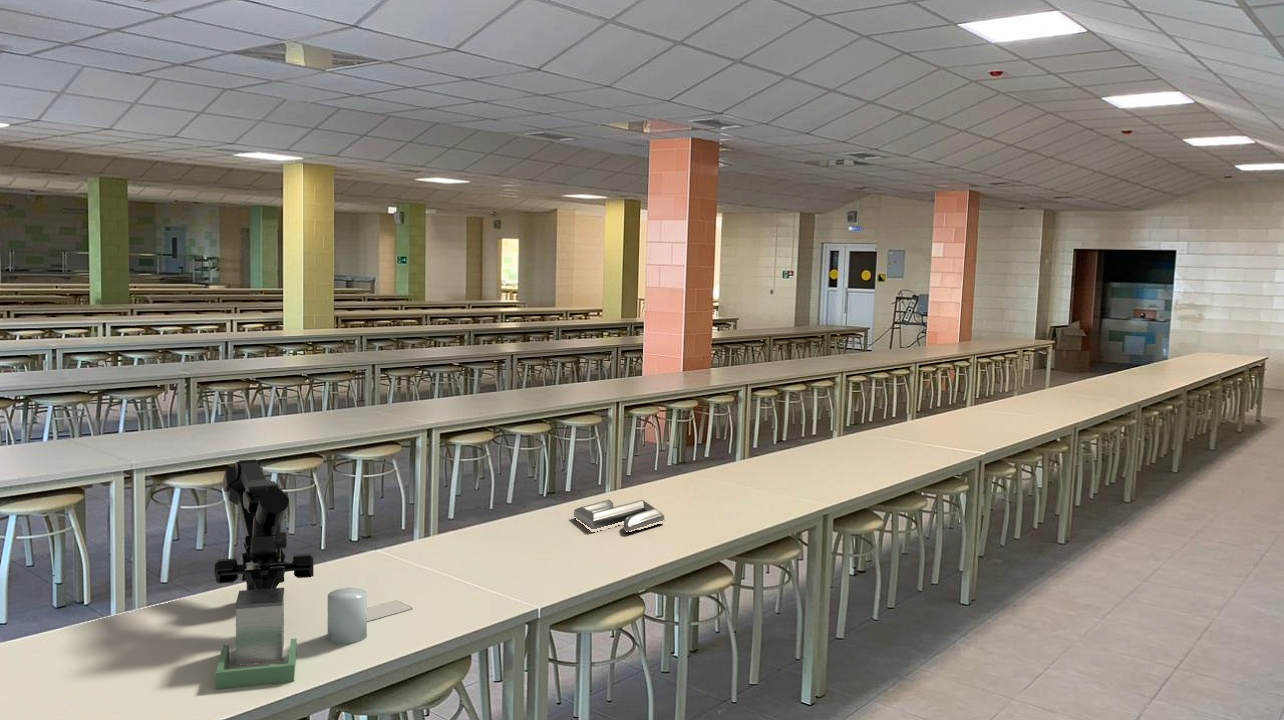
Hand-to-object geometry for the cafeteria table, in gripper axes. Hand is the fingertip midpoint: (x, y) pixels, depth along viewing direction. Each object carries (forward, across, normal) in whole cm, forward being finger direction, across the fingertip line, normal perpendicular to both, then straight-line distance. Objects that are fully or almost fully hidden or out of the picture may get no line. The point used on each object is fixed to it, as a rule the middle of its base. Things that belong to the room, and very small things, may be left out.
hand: (263, 607), depth 184 cm
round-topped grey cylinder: (+7, +16, +3) cm, 18 cm away
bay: (+15, 0, -6) cm, 16 cm away
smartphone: (-1, +22, +12) cm, 25 cm away
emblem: (-43, +96, +53) cm, 118 cm away
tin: (+10, 0, -1) cm, 10 cm away
